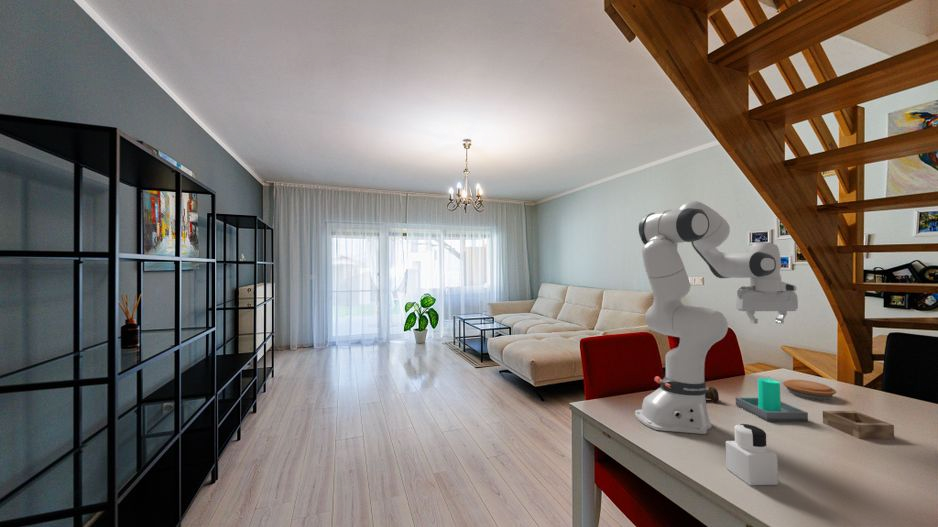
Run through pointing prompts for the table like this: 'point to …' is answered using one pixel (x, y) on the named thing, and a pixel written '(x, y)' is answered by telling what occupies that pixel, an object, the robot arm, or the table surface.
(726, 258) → the robot arm
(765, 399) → the teal green prism
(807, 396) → the pie
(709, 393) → the dark brown oblong piece
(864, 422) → the brown wooden open box
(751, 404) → the tray
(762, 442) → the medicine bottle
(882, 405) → the table surface
